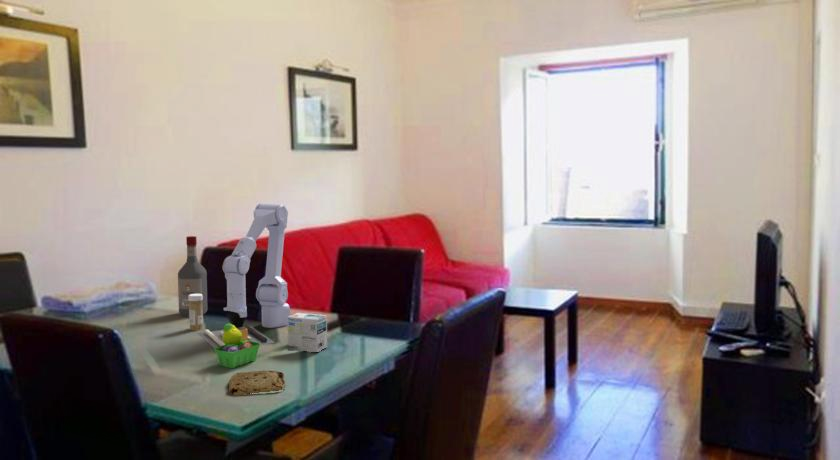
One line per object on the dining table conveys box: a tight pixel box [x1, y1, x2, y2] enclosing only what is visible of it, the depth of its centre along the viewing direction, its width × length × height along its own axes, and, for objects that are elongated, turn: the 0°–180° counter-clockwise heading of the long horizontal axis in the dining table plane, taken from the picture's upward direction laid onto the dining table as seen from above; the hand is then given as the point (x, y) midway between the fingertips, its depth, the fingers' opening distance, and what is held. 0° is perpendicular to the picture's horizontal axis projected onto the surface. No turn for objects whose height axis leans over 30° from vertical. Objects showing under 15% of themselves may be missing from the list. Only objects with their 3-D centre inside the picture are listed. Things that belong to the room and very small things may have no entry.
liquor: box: [177, 235, 208, 317], centre depth 240 cm, size 9×9×30 cm
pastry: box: [228, 369, 286, 397], centre depth 163 cm, size 17×17×3 cm
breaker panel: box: [197, 325, 276, 350], centre depth 202 cm, size 18×24×2 cm
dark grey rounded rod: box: [243, 324, 268, 342], centre depth 206 cm, size 1×21×1 cm, turn 33°
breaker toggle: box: [237, 326, 248, 340], centre depth 198 cm, size 4×3×4 cm
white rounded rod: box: [204, 329, 225, 346], centre depth 199 cm, size 1×21×1 cm, turn 33°
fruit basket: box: [213, 323, 261, 369], centre depth 181 cm, size 11×9×11 cm
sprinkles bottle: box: [188, 294, 204, 332], centre depth 212 cm, size 5×5×14 cm
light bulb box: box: [287, 312, 328, 353], centre depth 195 cm, size 11×7×11 cm, turn 71°
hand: (237, 334), depth 200 cm, fingers closed
